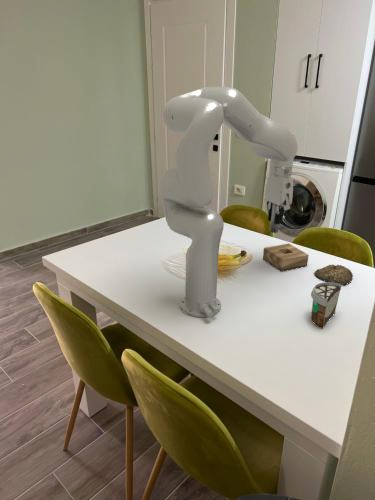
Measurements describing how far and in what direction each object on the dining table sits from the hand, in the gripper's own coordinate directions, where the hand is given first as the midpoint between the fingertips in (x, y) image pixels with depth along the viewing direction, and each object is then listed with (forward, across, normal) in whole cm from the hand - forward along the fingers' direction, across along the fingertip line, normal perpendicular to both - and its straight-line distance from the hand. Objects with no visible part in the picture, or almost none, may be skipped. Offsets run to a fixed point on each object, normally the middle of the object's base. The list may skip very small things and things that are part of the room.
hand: (275, 221), depth 134 cm
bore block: (+19, +1, -8) cm, 20 cm away
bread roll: (+19, -15, -18) cm, 30 cm away
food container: (+19, -34, +6) cm, 39 cm away
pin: (+4, 0, 0) cm, 4 cm away
